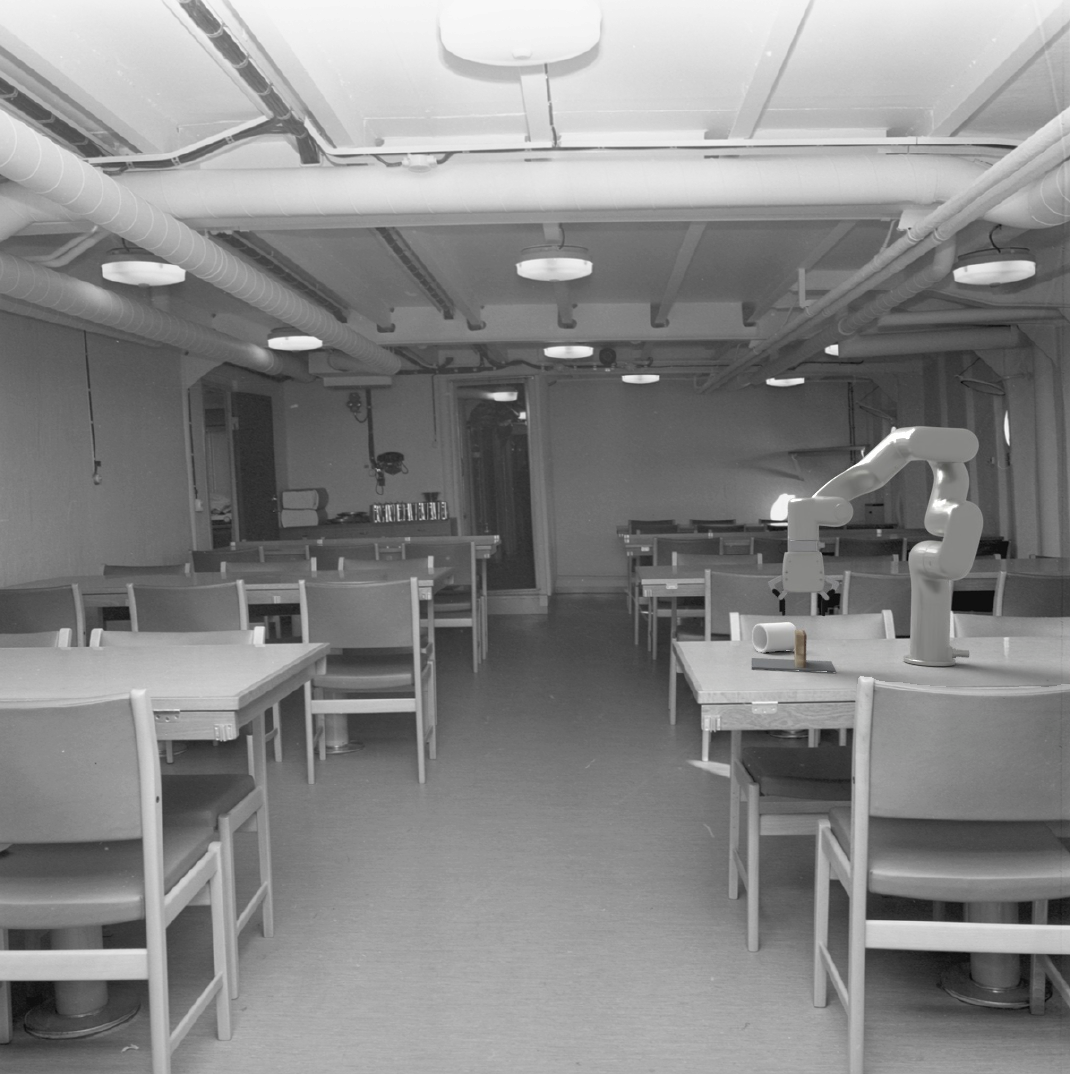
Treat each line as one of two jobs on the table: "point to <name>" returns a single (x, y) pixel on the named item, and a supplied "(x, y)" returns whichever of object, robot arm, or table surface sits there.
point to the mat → (791, 665)
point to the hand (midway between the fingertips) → (803, 615)
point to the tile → (800, 648)
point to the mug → (773, 637)
